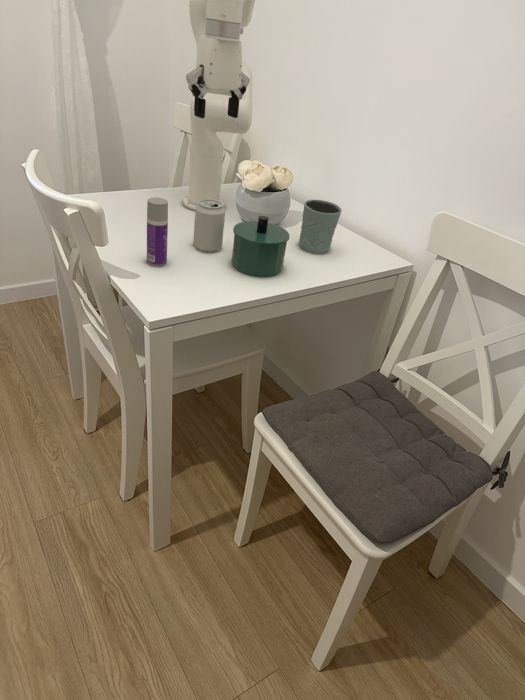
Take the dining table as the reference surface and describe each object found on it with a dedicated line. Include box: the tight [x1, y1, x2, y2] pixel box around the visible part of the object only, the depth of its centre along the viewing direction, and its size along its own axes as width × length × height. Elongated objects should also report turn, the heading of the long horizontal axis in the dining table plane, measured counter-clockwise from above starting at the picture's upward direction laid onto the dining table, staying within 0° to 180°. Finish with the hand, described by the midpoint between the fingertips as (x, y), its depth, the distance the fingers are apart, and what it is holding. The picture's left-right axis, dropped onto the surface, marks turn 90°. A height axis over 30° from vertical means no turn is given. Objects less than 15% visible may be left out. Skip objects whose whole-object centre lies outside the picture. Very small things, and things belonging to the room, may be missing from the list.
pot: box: [231, 233, 288, 278], centre depth 125 cm, size 13×13×8 cm
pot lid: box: [232, 215, 290, 245], centre depth 122 cm, size 14×14×5 cm
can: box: [192, 199, 226, 253], centre depth 129 cm, size 8×8×12 cm
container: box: [146, 196, 169, 268], centre depth 117 cm, size 5×5×15 cm
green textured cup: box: [298, 199, 342, 255], centre depth 138 cm, size 10×10×12 cm
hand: (216, 116), depth 119 cm, fingers open, 9 cm apart
